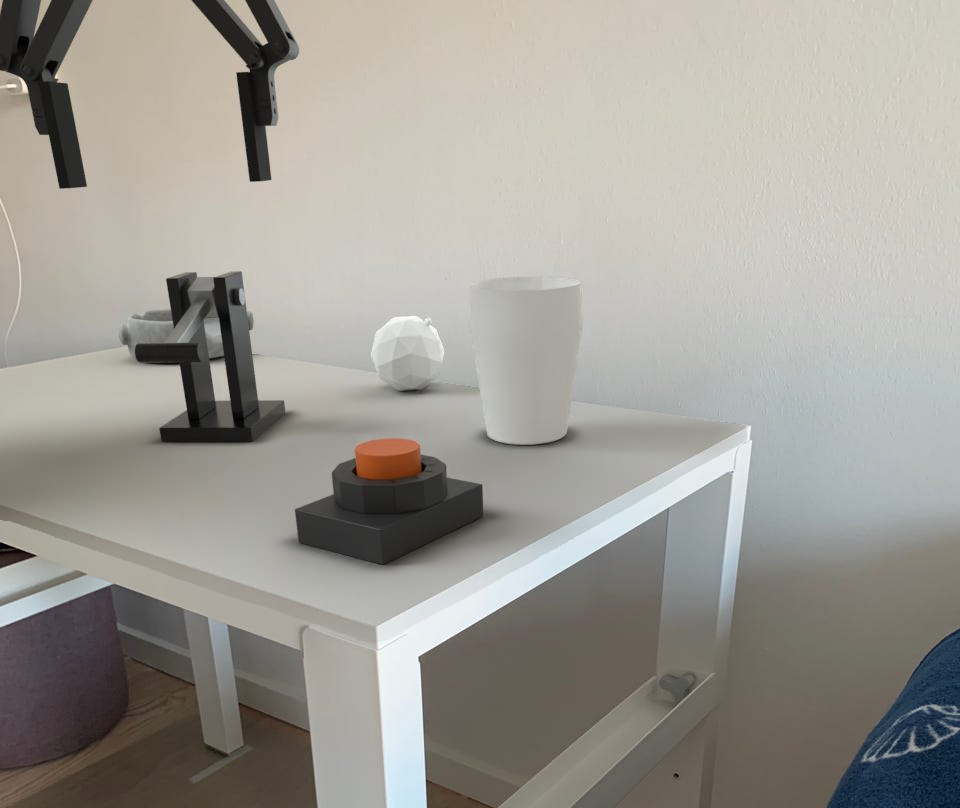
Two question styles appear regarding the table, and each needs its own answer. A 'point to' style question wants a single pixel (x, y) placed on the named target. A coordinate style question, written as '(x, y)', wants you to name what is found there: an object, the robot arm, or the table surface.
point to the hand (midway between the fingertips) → (166, 185)
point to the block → (388, 512)
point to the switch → (184, 328)
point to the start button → (388, 458)
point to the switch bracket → (244, 410)
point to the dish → (168, 330)
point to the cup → (526, 355)
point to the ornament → (407, 353)
